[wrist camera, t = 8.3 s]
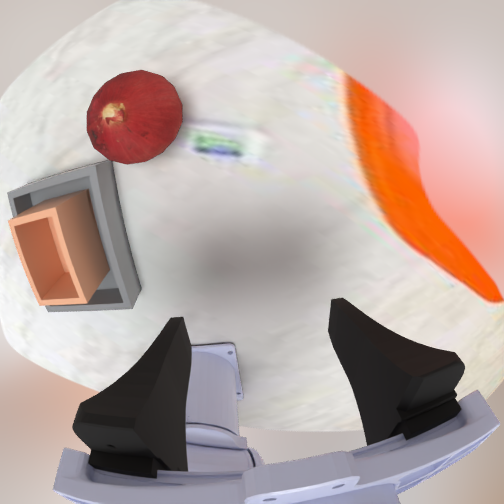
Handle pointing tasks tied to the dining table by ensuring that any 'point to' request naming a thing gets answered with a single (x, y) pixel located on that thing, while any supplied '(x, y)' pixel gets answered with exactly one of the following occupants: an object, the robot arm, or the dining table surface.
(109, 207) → the big crate
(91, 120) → the onion
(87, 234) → the small crate
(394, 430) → the robot arm
